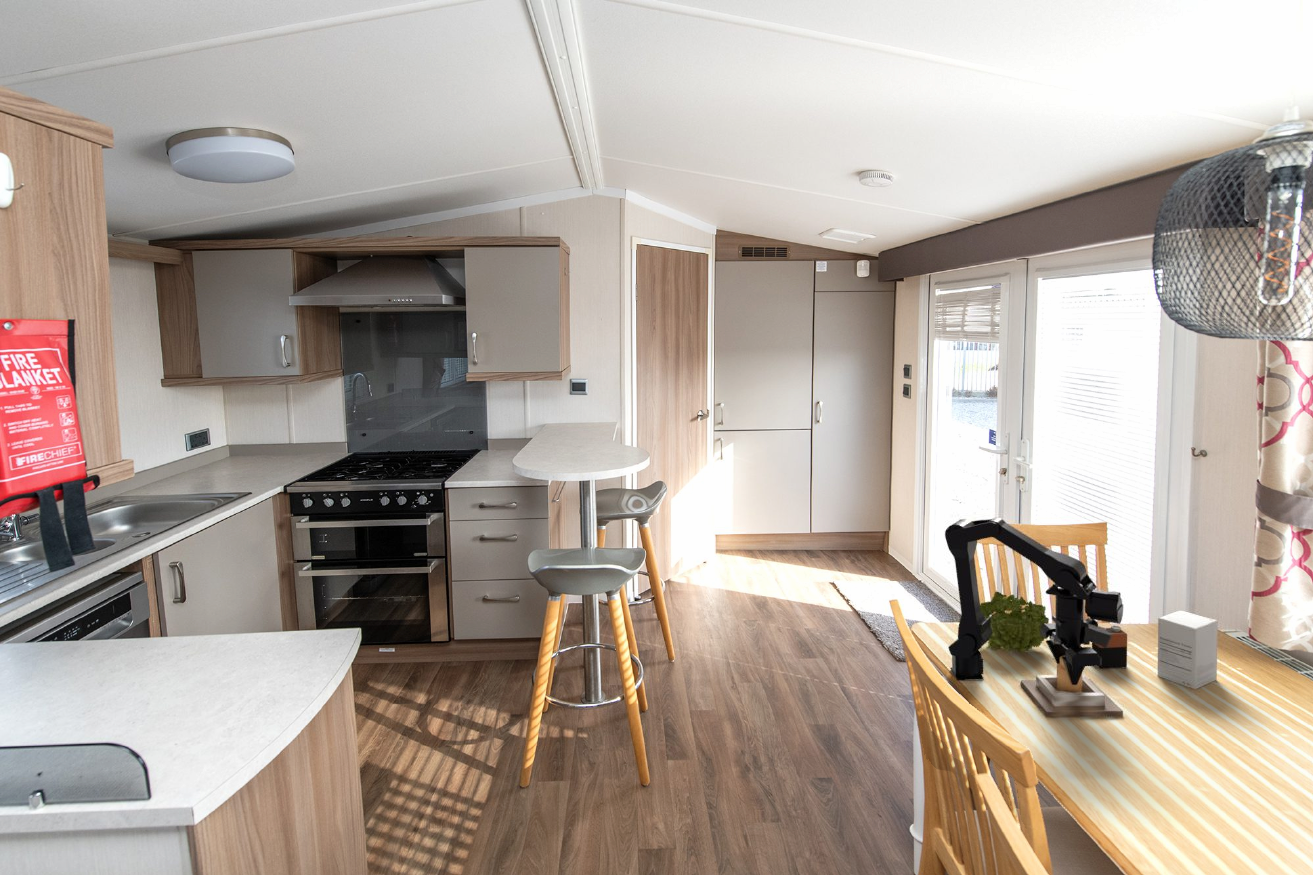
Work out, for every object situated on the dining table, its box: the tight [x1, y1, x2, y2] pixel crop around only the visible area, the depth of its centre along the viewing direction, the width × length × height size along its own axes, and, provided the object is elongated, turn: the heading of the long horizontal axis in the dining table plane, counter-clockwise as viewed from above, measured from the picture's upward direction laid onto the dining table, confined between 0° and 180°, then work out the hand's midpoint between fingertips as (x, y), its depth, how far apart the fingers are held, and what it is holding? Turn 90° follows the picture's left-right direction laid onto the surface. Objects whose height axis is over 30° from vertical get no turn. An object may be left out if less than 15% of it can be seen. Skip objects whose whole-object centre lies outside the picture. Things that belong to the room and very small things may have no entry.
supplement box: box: [1157, 610, 1218, 690], centre depth 184 cm, size 9×9×15 cm
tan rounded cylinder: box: [1056, 655, 1083, 693], centre depth 178 cm, size 5×5×7 cm
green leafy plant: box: [980, 590, 1050, 654], centre depth 207 cm, size 18×16×16 cm
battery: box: [1091, 625, 1128, 670], centre depth 194 cm, size 4×7×10 cm, turn 88°
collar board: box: [1020, 673, 1124, 718], centre depth 179 cm, size 16×16×4 cm
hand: (1069, 679), depth 178 cm, fingers closed on tan rounded cylinder, 5 cm apart
